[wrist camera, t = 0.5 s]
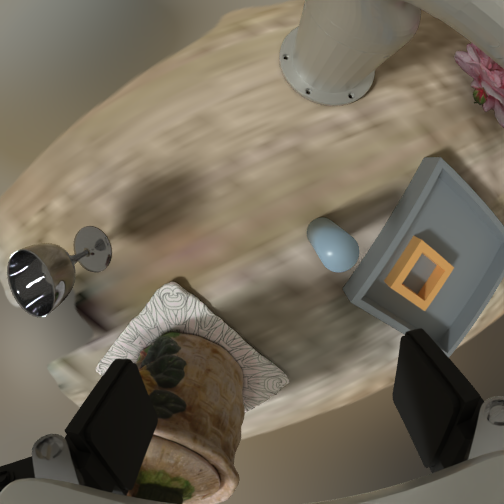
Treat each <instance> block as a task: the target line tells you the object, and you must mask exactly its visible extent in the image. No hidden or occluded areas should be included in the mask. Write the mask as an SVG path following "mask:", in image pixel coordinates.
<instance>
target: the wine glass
mask: <svg viewBox="0 0 504 504" xmlns="http://www.w3.org/2000/svg"><path fill="white" fill-rule="evenodd" d="M74 253H75V255H69V254H68V252H67V251H66V250H64V249H63V248H62V247H60V246H59V245H56V244H52V243H41V244H35V245H31V246H28V247H25V248H22V249H20V250H18V251H16V252H15V253H14V254H13V255H12V256H11V258H10V260H9V262H8V267H7V276H8V282H9V286H10V289H11V292H12V294H13V296H14V298H15V300H16V301H17V303H18V304H19V305H20V306H21V308H22V309H24V310H25V311H26V312H27V313H29V314H30V315H32V316H35V317H44V316H46V315H48V314H50V313H51V312H52V311H54V310H55V309H56V308H57V307H58V306H59V305H60V304H61V303H62V302H63V301H64V300H65V298H66V297H67V296H68V295H69V293H70V292H71V290H72V288H73V286H74V283H75V266H74V265H75V264H76V263H77V262H79V263H80V265H81V266H82V267H83V268H85V269H86V270H88V271H91V272H100V271H103V270H104V269H106V268H107V266H108V265H109V263H110V261H111V255H112V251H111V245H110V242H109V240H108V238H107V236H106V235H105V234H104V233H103V232H102V231H101V230H100V229H98V228H96V227H93V226H87V227H84V228H82V229H81V230H79V231H78V233H77V234H76V236H75V239H74Z"/></svg>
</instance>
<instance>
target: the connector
mask: <svg viewBox="0 0 504 504" xmlns="http://www.w3.org/2000/svg"><path fill="white" fill-rule="evenodd" d="M307 238H308V240H309V242H310V243H311V245H312V246H313V248H314V250H315V251H316V253H317V254H318V256H319V258H320V259H321V261H322V263H323V264H324V266H325V267H326V268H327V269H329V270H331V271H333V272H344V271H347V270H349V269H350V268H352V267H353V266H354V265H355V263H356V262H357V260H358V257H359V246H358V243H357V242H356V240H355V239H354V238H353V237H352V236H350V235H349V234H348V233H347V232H345V231H344V230H343V229H342V228H340V227H339V226H338V225H336V224H335V223H334V222H332V221H331V220H330V219H328V218H324V217H320V218H316V219H314V220H313V221H312V222H311V223H310V224H309V226H308V228H307Z"/></svg>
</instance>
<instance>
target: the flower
mask: <svg viewBox="0 0 504 504" xmlns="http://www.w3.org/2000/svg"><path fill="white" fill-rule="evenodd" d="M467 51H468V52H464V51H456V53H455V55H454V58H455V60H456V63H457V64H458V65H459V66H460V67H461V68H462V69H463V70H464V71H465V72H466V73H467V74H468V75H470V76H471V77H473V78H474V80H473V82H472V83H471V87H472V88H474V89H475V90H474V92H473V97H474V100H475V101H476V102H474V103H479V105H481V104H482V107H483V109H484V111H485V112H487V111H488V110H490V109H493V110H494V111H495V117H496V119H497V121H498V122H499V124H500V125H501V126H502V127H504V69H503V68H502V67H501V66H500V65H498V64H497V63H496V62H495V61H493V60H492V59H491V58H490V57H489V56H488V55H486V54H485V53H484V52H483V51H482V50H480V49H479V48H478V47H477V46H475V45H474V44H473V43H472V42H471V44H467Z"/></svg>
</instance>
